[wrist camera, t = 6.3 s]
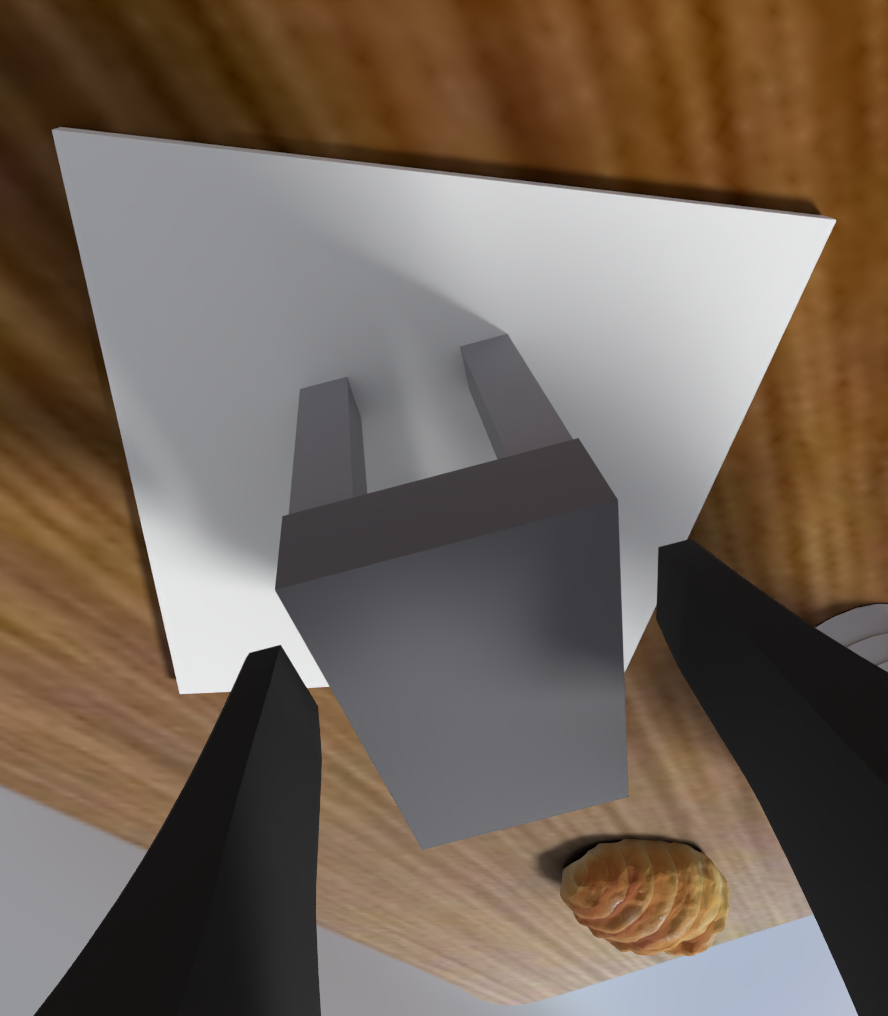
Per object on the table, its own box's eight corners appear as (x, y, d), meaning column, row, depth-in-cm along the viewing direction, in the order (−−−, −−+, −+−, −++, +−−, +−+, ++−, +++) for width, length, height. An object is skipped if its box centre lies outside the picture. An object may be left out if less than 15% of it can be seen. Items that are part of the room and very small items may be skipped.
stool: (546, 590, 17) (628, 796, 12) (396, 629, 17) (422, 849, 12) (506, 324, 12) (617, 499, 7) (296, 380, 12) (274, 589, 7)
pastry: (521, 876, 31) (542, 964, 28) (617, 813, 28) (651, 903, 25) (633, 899, 35) (662, 977, 32) (725, 846, 33) (766, 926, 30)
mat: (823, 215, 12) (836, 220, 12) (620, 662, 20) (625, 672, 20) (60, 126, 9) (51, 129, 9) (182, 682, 18) (179, 694, 17)
